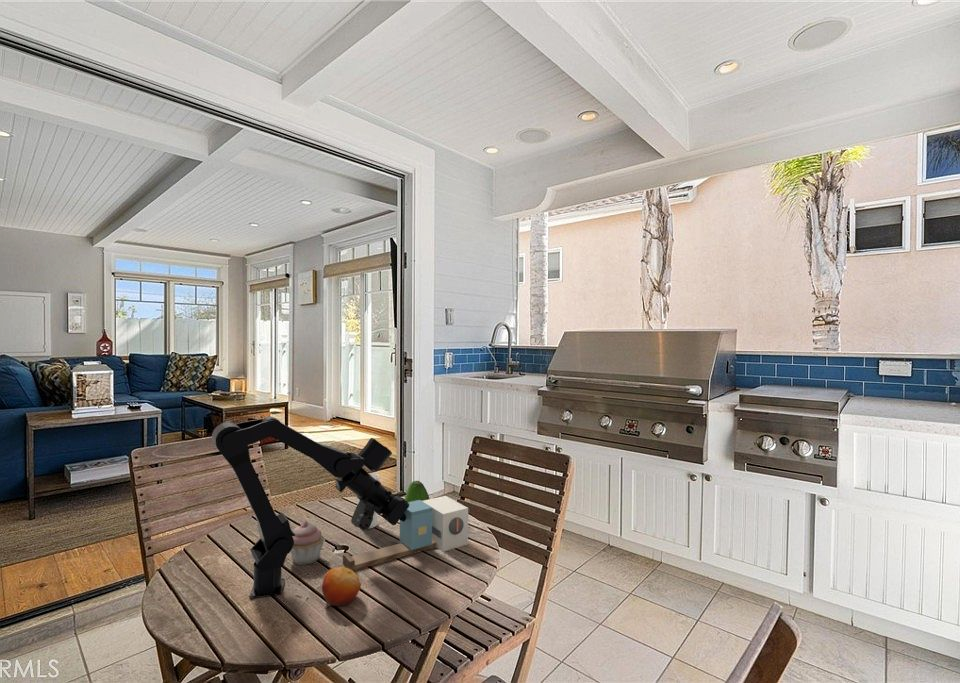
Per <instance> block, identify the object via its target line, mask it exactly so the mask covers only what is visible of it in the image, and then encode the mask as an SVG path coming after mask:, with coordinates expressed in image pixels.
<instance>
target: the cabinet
mask: <svg viewBox="0 0 960 683" xmlns="http://www.w3.org/2000/svg"><path fill="white" fill-rule="evenodd" d="M422 502H424V503H426V504H427V505H429V506H431V507H432V508H433V511H432V540H433V541H435V542H436V547H435V548H436V549H437V548H438V549H439V550H440V551H441V552H443V553H444V552H447V551H450V550H452V549H457V548H460V547H464V546H467V545H469V507H467V506H465V505H463V504H461V503H460V502H458V501H456V500H454V499H452V498H451V497H448V496H447V495H444V496H439V497H435V498H430V499H429V500H424V501H422Z"/></svg>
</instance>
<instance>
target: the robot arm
mask: <svg viewBox="0 0 960 683" xmlns="http://www.w3.org/2000/svg"><path fill="white" fill-rule="evenodd" d="M268 438H273V439H275V440H277V441H279V442H281V443H282V444H284V445H286V446H288V447H290V448H292V449H293V450H296V451H297V452H299V453H301V454H303V455H304V456H306V457H309V458H310V459H312V460H313V461H314V462H315V463H316V464H318V465H319V466H320V467H321V468H323V469H324V470H325V471H326V472H328V473H329V474H331V476H332V477H335V478H336V479H334V480H335V485H334V486H335V487H334V488H335V489H336V490H337V491H338V492H339V493H343V492H344V490H345V489H346V488H347V489H348V490H350V491H351V492H352V493H353V494H355V495H356V499H357V498H358V499H359V500H360V501H359V503H358V504H357V505H356V506H355V509H354V511H353V514H352V516H351V519H350V522H351V524H352V525H353V526H354V527H355V528H360V529H361V530H363V531H364V530H369V527H370V525H371V523H372V520H373V515H374V511H375V512H376V513H377V515H380V517H382V518H383V519H384V520H385V521H386V522H388V523H389V524H390V525H392V526H395V525H397V524H398V522H400V520H401V521H403V522H404V521H405V520H406V516H405V511H406V510H407V509H408V507H409V503H408V502H407V501H405V498H403V497H401V496H400V495H397V496H395V494H394V493H393V492H392V491H391V490H390V489H388V488H386V487H385V486H384V485H383V484H382V483H381V482H379V481H377V480H376V479H374V478H373V477H372V476H371V475H370V474H369V473H373V472H375V473H376V472H378V471H380V470H381V468H382V467H383V466H384V464H386V462H387V461H388V459H389V458H390V457H391V456H392V454H393V452H392V451H391V450H390V449H389V447H387V446H385V445H383V444H382V443H381V442H379V441H378V440H377V439H376V438H374V437H370V438H369V439H368V441H367V443H366V444H365V445H364V447H363V448H362V449H361V450H360V452H359V453H358V454H357V453H356V452H344V451H343V450H341V449H339V448H335V447H332V446H330V445H326V444H323V443H319V442H316V440H315V441H314V440H313V439H311V438H309V436H305V435H304V434H303V433H301V432H299V431H297V430H296V429H293V428H291V427H289V426H288V425H286V424H284V423H283V422H281V421H280V420H279V419H278V418H276V417H274V416H271V415H270V416H266V417H263V418H258V419H253V420H248V421H247V420H246V421H241V422H237V423H235V422H231V421H230V422H229V421H228V422H227V421H226V422H222V423H220V424H218V425H217V426H216V427H214V429H213V431H212V434H211V440H212V442H213V444H214V445H215V447H216V449H217V450H218V451H219V453H220V454H221V455H222V456H223V458H224V459H225V461H226V462H227V463H228V464H229V465H230V467H231V469H232V470H233V473H234V475H235V476H236V478H237V480H238V483H239V484H240V486H241V489H242V491H243V493H244V495H245V497H246V499H247V501H248V504H249V506H250V508H251V509H252V512H253V514H254V516H255V518H256V522H257V524H256V525H257V529H258V534H259V539H258V540H257V541H256V543H255V544H254V545H253V546H252V547H251V548H250V553H251V556H252V558H253V559H254V563H253V586H252V587H251V589H250V593H249V599H254V598H255V599H256V598H262V597H268V596H269V597H270V596H277V595H278V596H279V595H282V594H283V593H282V592H283V588H284V585H285V581H286V578H285V577H282V572H283V571H282V570H283V569H282V567H284V564H285V562H286V560H287V559H286V558H287V556H288V554H290V553H291V552H290V551H291V550H292V547H293V545H294V539H293V537H292V536H295V533H294V532H293V531H294V530H293V529H292V528H291V525H290V520H289V519H288V518H287V516H286V515H285V514H284V513H283V512H280V513H279V514H276V512H275V510H274V509H273V506H272V504H271V502H270V499H269V497H268V496H267V493H266V491H265V488H264V486H263V484H262V483H261V480H260V479H259V476H258V474H257V472H256V470H255V468H254V466H253V463H252V461H251V455H250V448H249V446H250V445H253V444H256V443H258V442H260V441H264V440H265V439H268ZM363 467H364V468H366V469H367V470H368V471H369V472H368V471H366V470H365V469H364V468H363Z"/></svg>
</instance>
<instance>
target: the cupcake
mask: <svg viewBox="0 0 960 683" xmlns="http://www.w3.org/2000/svg"><path fill="white" fill-rule="evenodd" d="M292 531H293V532H294V533H295V536H292V537H293V539H294V545H293V547H292V550H291V551H290V552H289V553H290V555H291V560H292V562H293V563H294V564H295V565H300V566H301V565H302V566H305V565H309V564H313V563H315V562H317V561H318V560H319V559H320V556H321V552H322V547H323V545H324V543H325V541H326V539H325V536H324V535H322V531H321V529H320V528H319V527H318V526H317V525H316V524H315V523H314V522H312V521H307V520H305V521H303V522H302V523H301V525H298V526H296V527H295V528H294V529H293V530H292Z"/></svg>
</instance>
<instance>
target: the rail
mask: <svg viewBox="0 0 960 683" xmlns="http://www.w3.org/2000/svg"><path fill="white" fill-rule="evenodd" d="M434 548H437V547H436V542H435V541H433V540H432V545H428V546H425V547H421V548H418V549H414V550H411V549H409V548H408V547H407V546H406V545H405V544H403V543H402V542H401V543H397V544H391V545H389V546H385V547H381V548H377V549H373V550H371V551H367V552H363V553H359V554H355V555H352V556H351V555H350V554H349V553H348V552H345V553H342V564H343V566H344V567H345V568H348V569H351V570H352V571H357V570H360V569H364V568H367V567H371V566H374V565H377V564H378V565H379V564H381V563H385V562H389V561H392V560H395V559H398V557H399V558H402V556H403V557H405V555H406V556H409V554H410V555H413V554H416V553H415V552H417V553H419V552H418V551H420V552H423V551H422V550H424V551H426V550H427V551H428V550H430V549H434ZM412 553H413V554H412ZM388 560H389V561H388Z"/></svg>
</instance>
